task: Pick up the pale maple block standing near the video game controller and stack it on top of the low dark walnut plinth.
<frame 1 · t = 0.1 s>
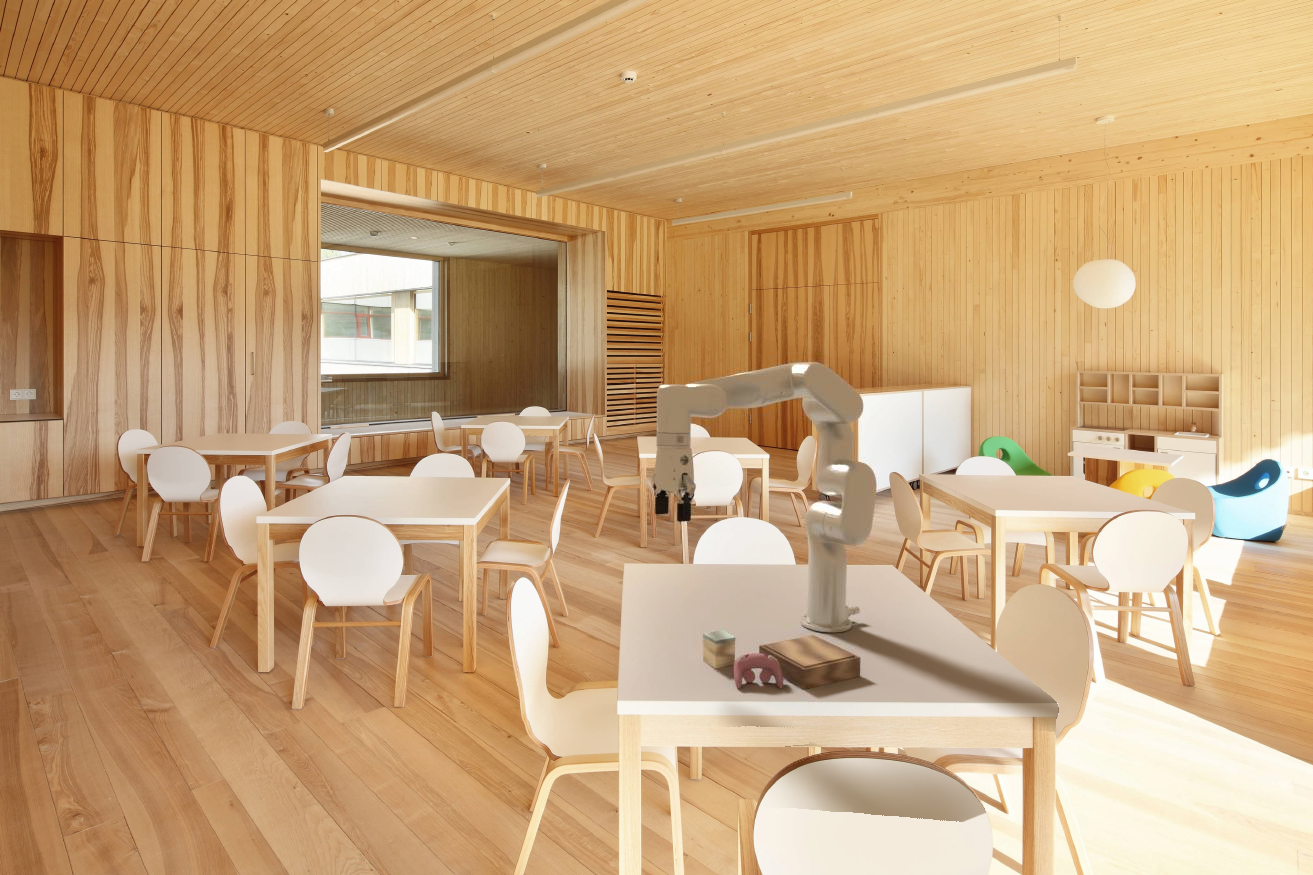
hand: (672, 517, 160), 31 cm above the table, tool pointing down, fingers open, 9 cm apart
video game controller: (757, 684, 146), on the table
maple block: (718, 662, 157), on the table
walnut plinth: (808, 669, 154), on the table
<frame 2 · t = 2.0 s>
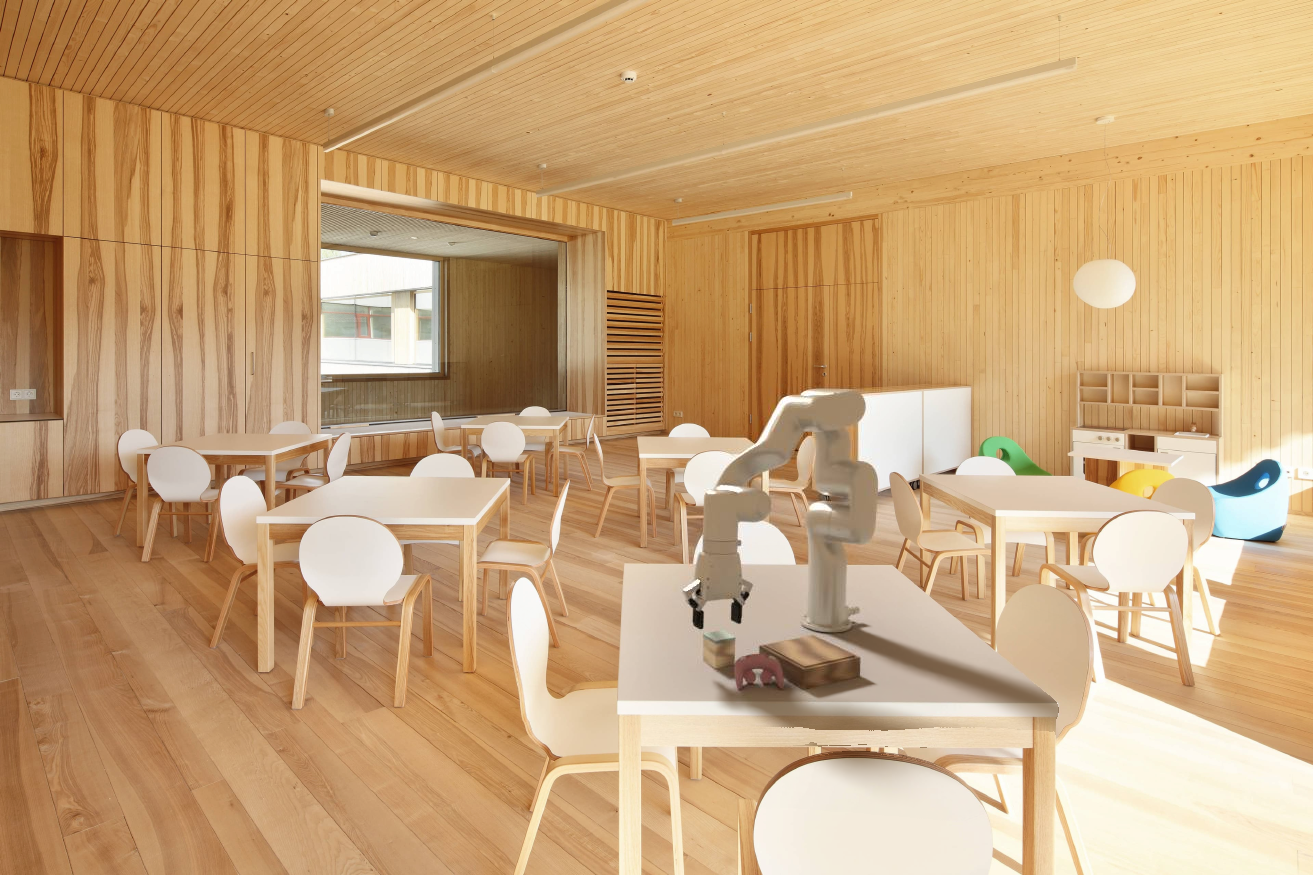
hand: (717, 624, 156), 9 cm above the table, tool pointing down, fingers open, 9 cm apart
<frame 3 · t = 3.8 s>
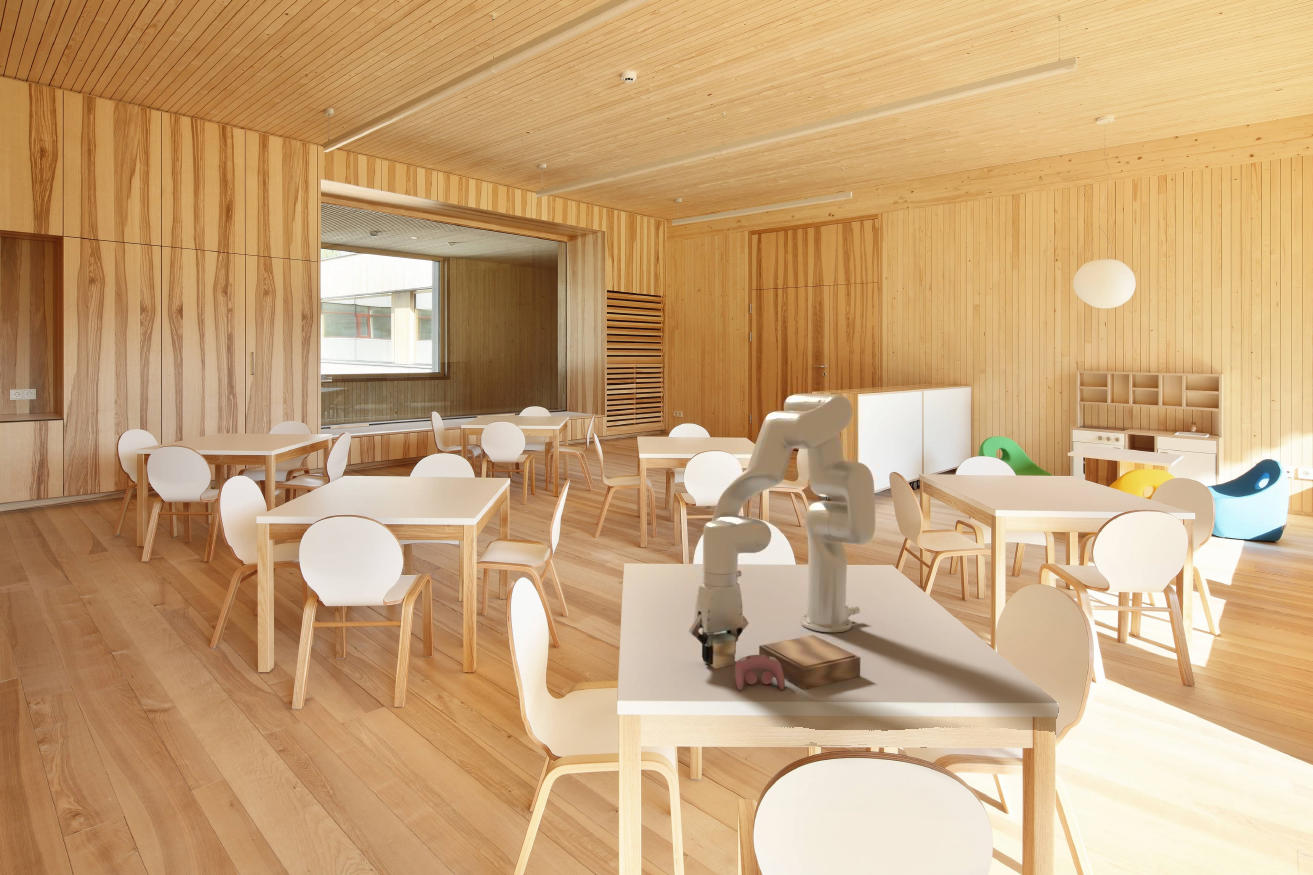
hand: (718, 659, 157), 1 cm above the table, tool pointing down, fingers closed on maple block, 5 cm apart
maple block: (718, 662, 157), on the table, touching gripper
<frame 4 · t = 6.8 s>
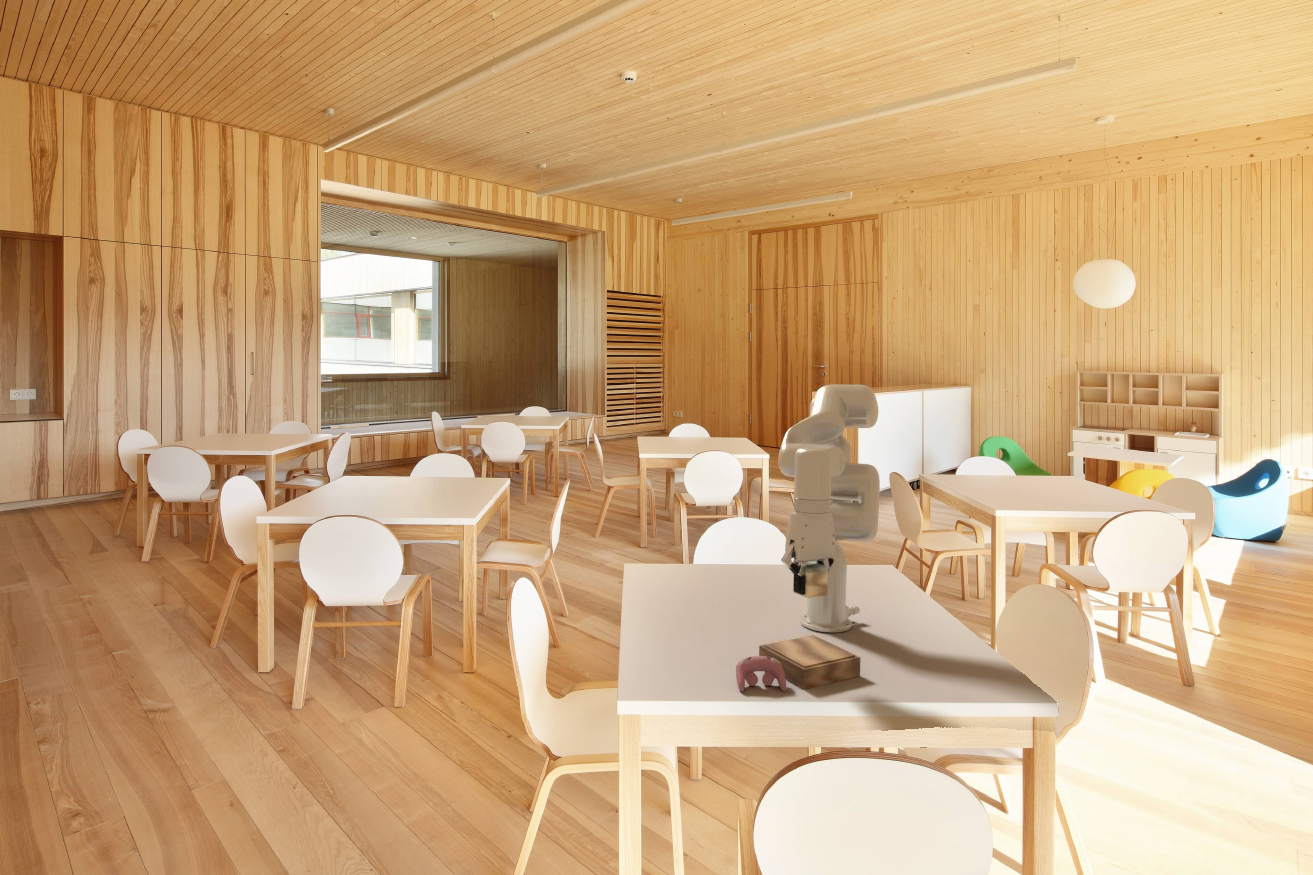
hand: (810, 590, 153), 17 cm above the table, tool pointing down, fingers closed on maple block, 5 cm apart
maple block: (810, 593, 153), point 17 cm above the table, touching gripper
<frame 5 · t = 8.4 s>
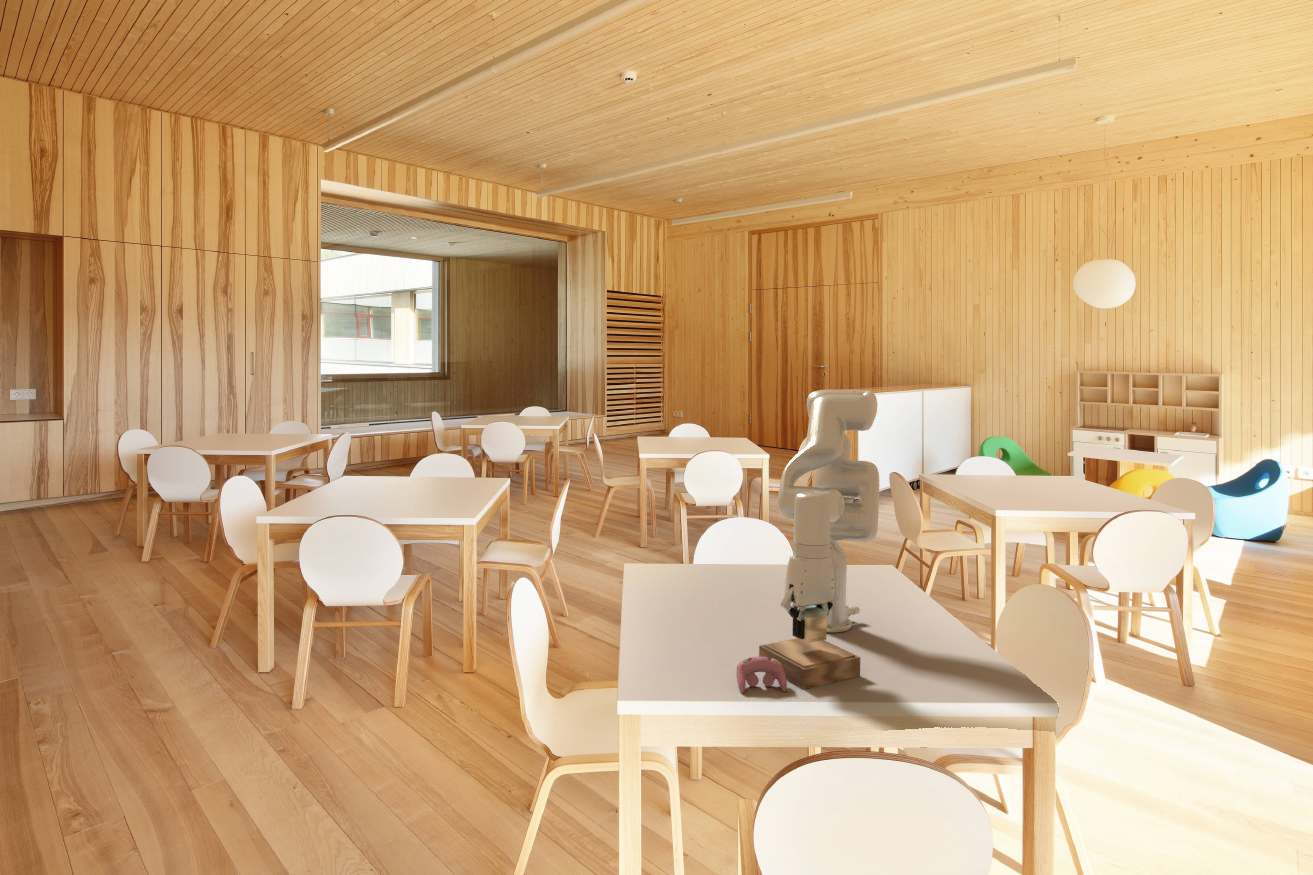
hand: (809, 634, 153), 8 cm above the table, tool pointing down, fingers closed on maple block, 5 cm apart
maple block: (809, 637, 153), point 7 cm above the table, touching gripper
when the fingers open (6 cm above the table, at t = 9.7 s): maple block stays where it is, resting on walnut plinth.
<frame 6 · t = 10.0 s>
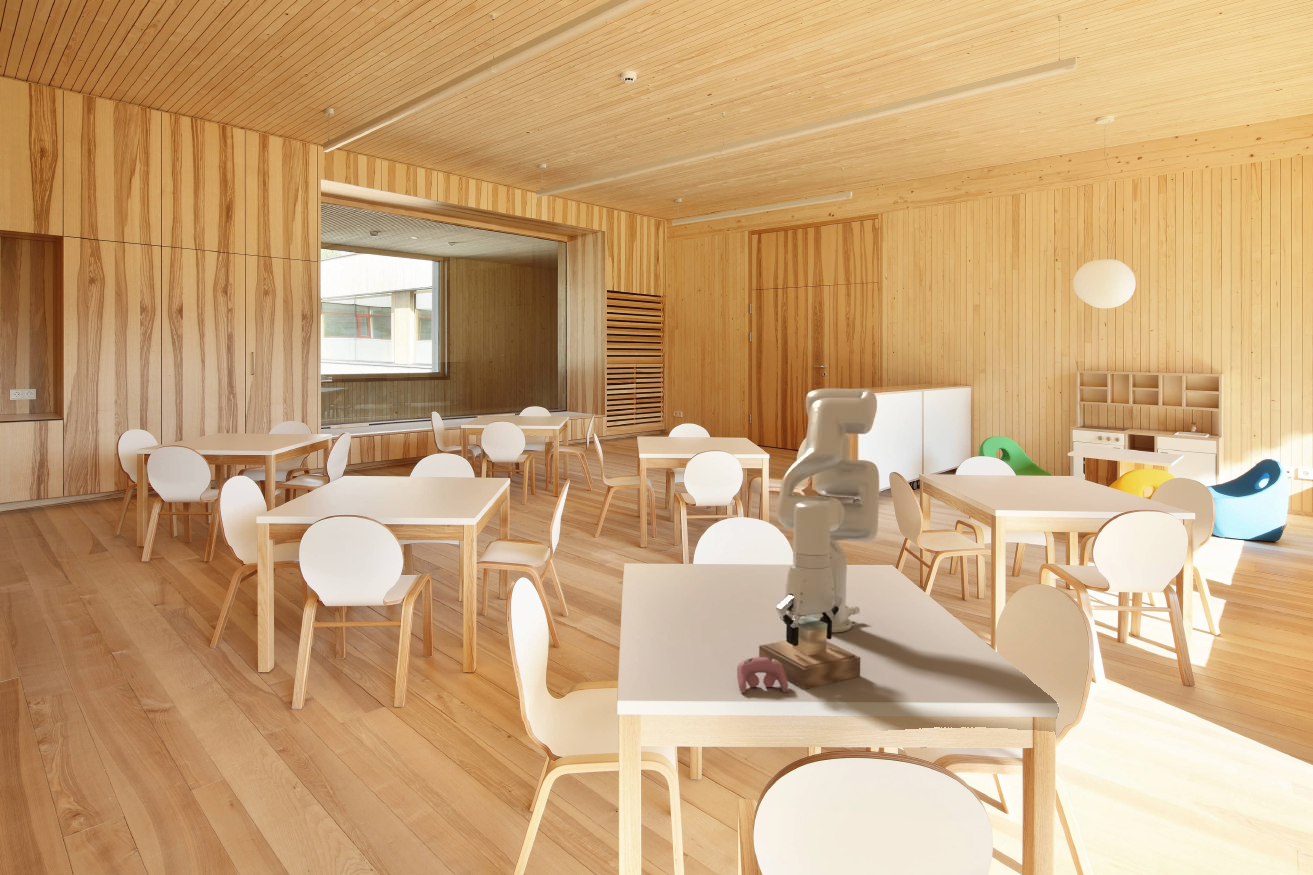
hand: (809, 640, 153), 6 cm above the table, tool pointing down, fingers open, 8 cm apart
maple block: (809, 649, 153), point 4 cm above the table, touching walnut plinth
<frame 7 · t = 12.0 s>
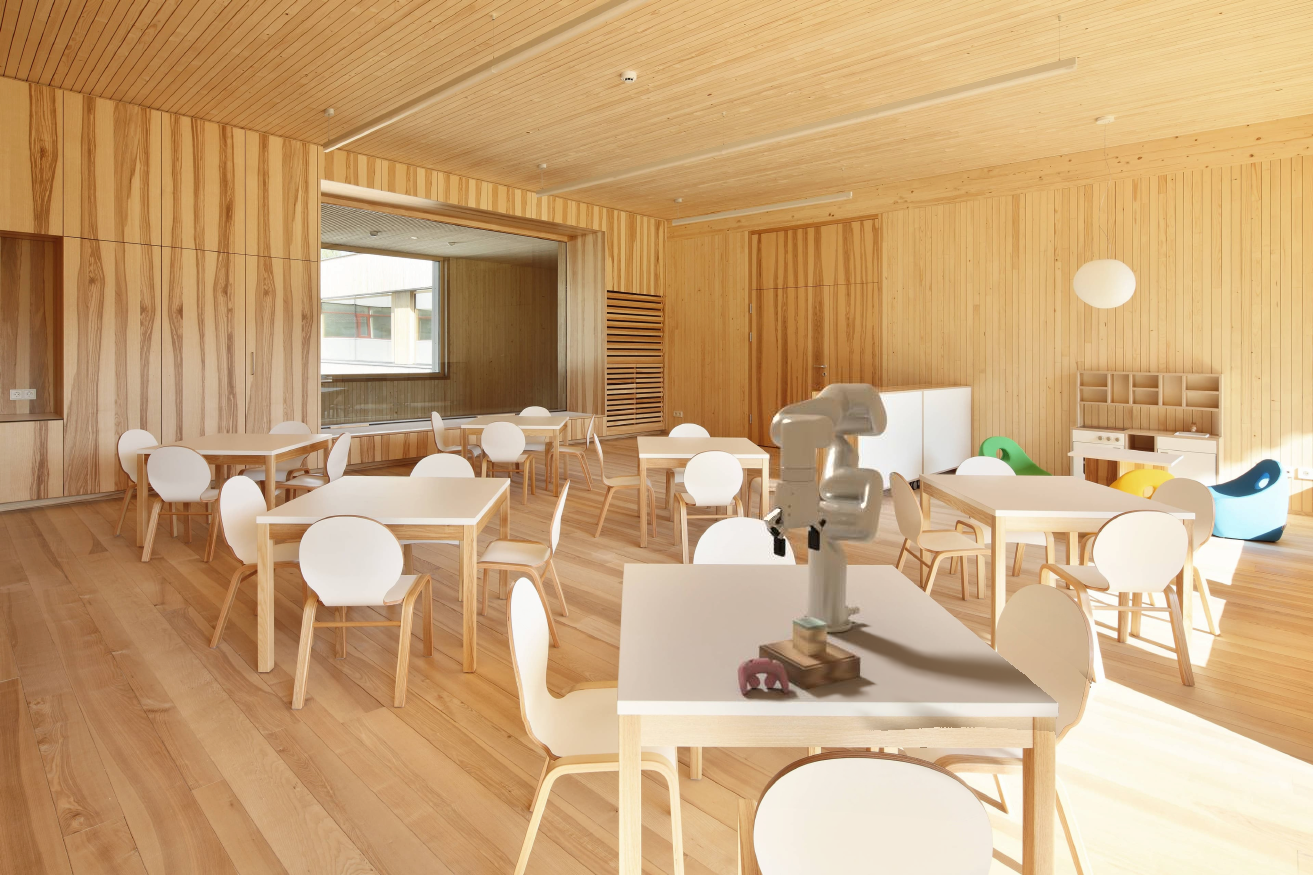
hand: (796, 552, 158), 24 cm above the table, tool pointing down, fingers open, 9 cm apart
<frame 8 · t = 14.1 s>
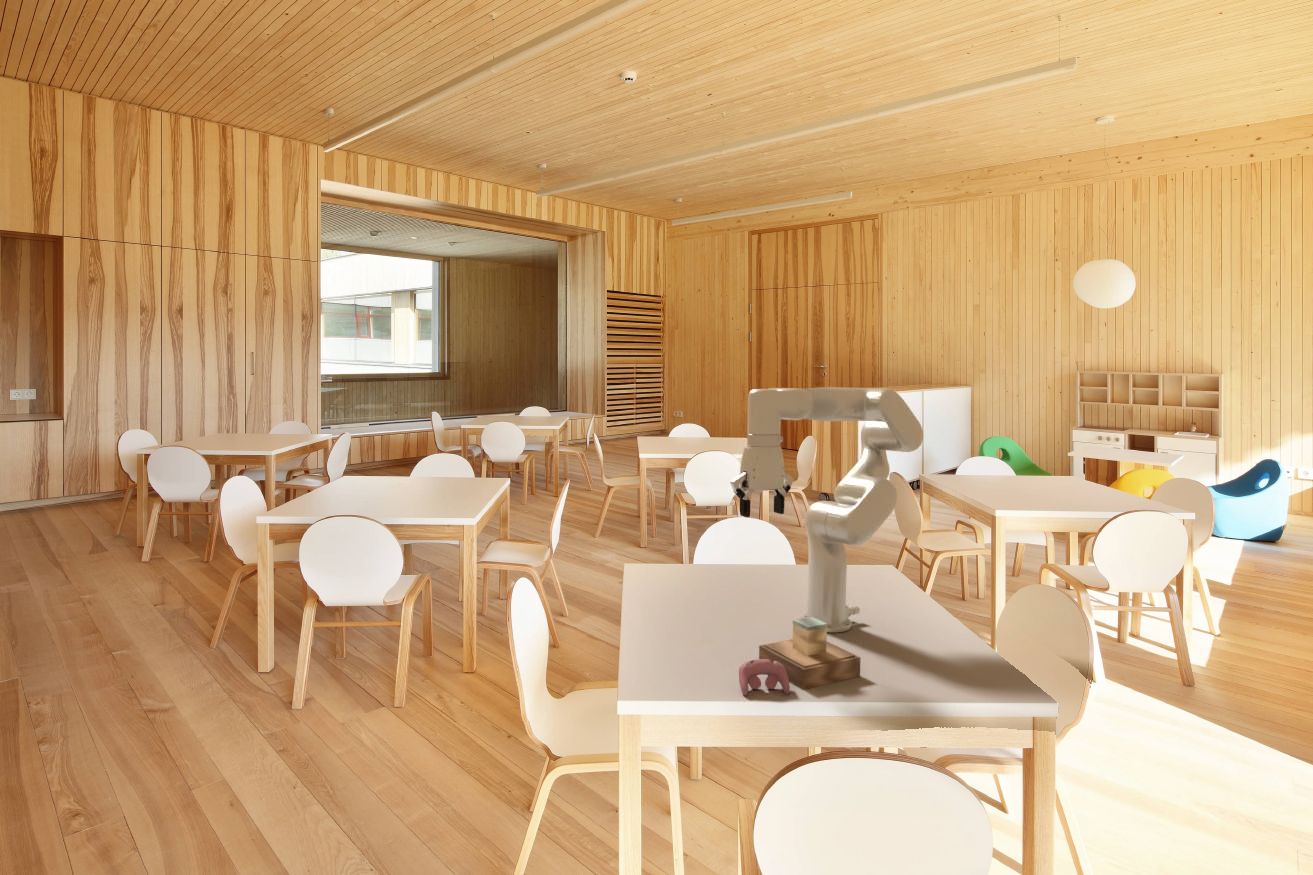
hand: (762, 514, 169), 30 cm above the table, tool pointing down, fingers open, 9 cm apart
at the end: maple block inside the target area on the walnut plinth (0.1 cm from its centre), point 4.3 cm above the walnut plinth's base; maple block tilted 0°; the gripper is holding nothing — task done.
